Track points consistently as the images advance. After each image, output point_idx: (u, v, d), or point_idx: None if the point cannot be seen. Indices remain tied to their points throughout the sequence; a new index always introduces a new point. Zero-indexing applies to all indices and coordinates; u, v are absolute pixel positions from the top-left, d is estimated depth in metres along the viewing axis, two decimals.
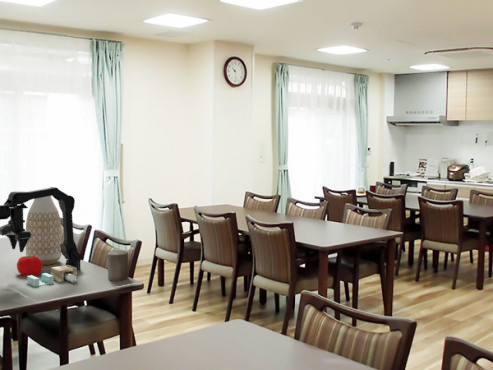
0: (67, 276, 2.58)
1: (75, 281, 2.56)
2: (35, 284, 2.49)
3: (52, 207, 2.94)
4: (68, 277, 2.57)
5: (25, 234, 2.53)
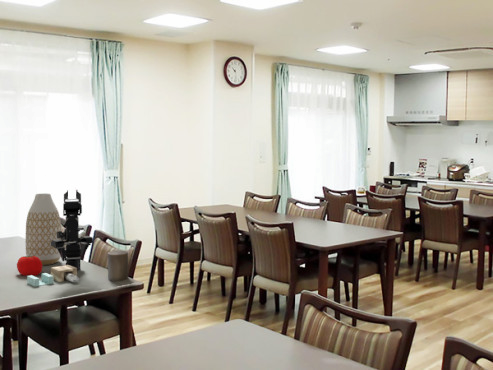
0: (68, 275, 2.58)
1: (75, 281, 2.56)
2: (35, 284, 2.49)
3: (52, 207, 2.94)
4: (69, 276, 2.57)
5: (53, 243, 2.49)
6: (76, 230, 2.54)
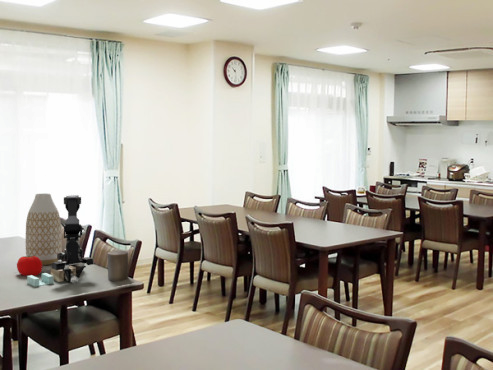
0: None
1: (75, 282, 2.56)
2: (35, 284, 2.49)
3: (52, 207, 2.94)
4: None
5: (54, 265, 2.50)
6: (76, 252, 2.55)
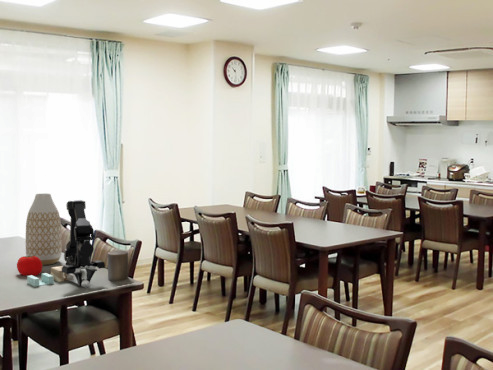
0: None
1: (86, 285, 2.48)
2: (35, 284, 2.49)
3: (52, 207, 2.94)
4: None
5: (64, 269, 2.42)
6: (87, 255, 2.47)
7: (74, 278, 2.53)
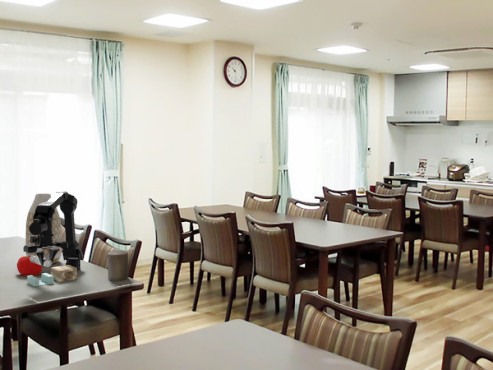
0: None
1: (48, 265, 2.49)
2: (35, 284, 2.49)
3: None
4: None
5: (25, 248, 2.43)
6: (50, 235, 2.47)
7: (37, 259, 2.53)
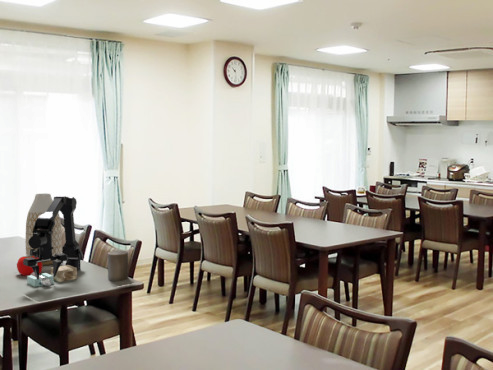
0: (40, 279, 2.51)
1: (48, 284, 2.49)
2: (35, 284, 2.49)
3: None
4: (41, 280, 2.50)
5: (25, 261, 2.43)
6: (49, 248, 2.48)
7: None
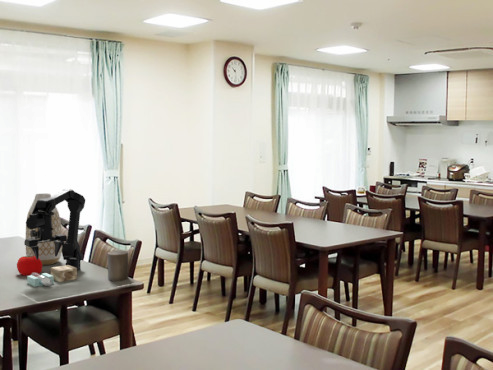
0: (41, 279, 2.51)
1: (48, 284, 2.49)
2: (35, 284, 2.49)
3: None
4: (41, 280, 2.50)
5: (26, 242, 2.53)
6: (49, 229, 2.57)
7: (37, 277, 2.54)
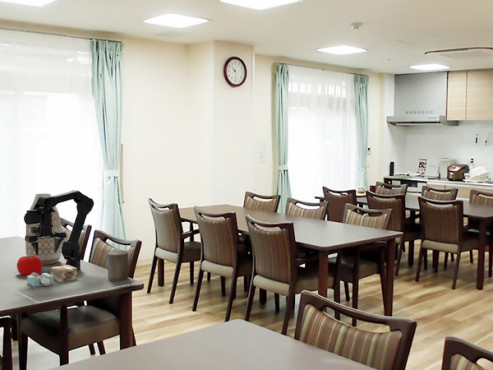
0: (40, 279, 2.51)
1: (48, 284, 2.49)
2: (35, 284, 2.49)
3: None
4: (41, 280, 2.50)
5: (27, 237, 2.59)
6: (49, 225, 2.64)
7: (37, 277, 2.54)
